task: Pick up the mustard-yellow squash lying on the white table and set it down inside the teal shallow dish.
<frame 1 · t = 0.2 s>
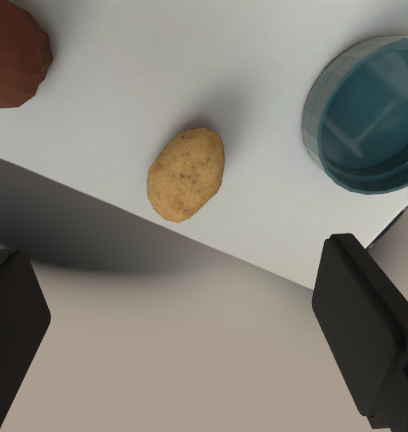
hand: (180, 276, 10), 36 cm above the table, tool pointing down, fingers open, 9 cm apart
muffin: (16, 47, 38), on the table
teal shallow dish: (368, 113, 44), on the table
potato: (187, 162, 47), on the table
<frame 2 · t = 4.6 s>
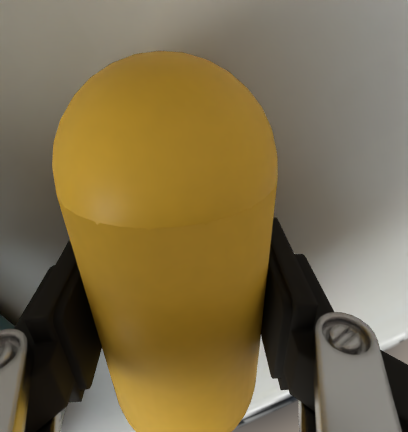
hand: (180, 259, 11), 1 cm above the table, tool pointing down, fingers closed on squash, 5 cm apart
squash: (173, 240, 11), on the table, tilted 6°, touching gripper
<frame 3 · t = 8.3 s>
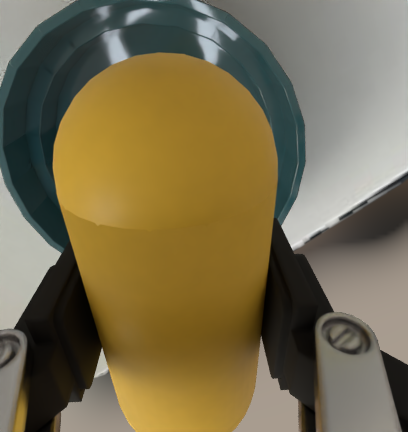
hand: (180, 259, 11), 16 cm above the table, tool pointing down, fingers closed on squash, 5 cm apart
teal shallow dish: (162, 142, 25), on the table
squash: (173, 241, 11), point 16 cm above the table, tilted 6°, touching gripper
when the fingers open (1 cm above the table, at t = 12.2 s): squash stays where it is, resting on teal shallow dish.
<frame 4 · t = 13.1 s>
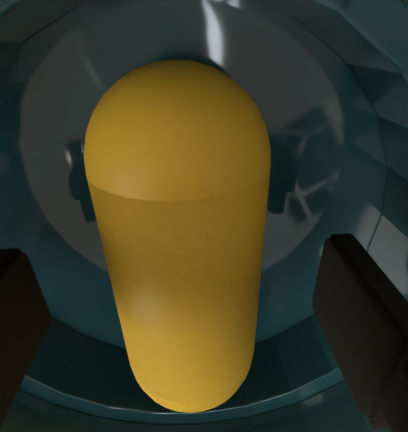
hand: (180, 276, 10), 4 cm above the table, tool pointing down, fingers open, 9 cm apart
teal shallow dish: (184, 223, 13), on the table
squash: (178, 227, 13), point 1 cm above the table, tilted 9°, touching teal shallow dish
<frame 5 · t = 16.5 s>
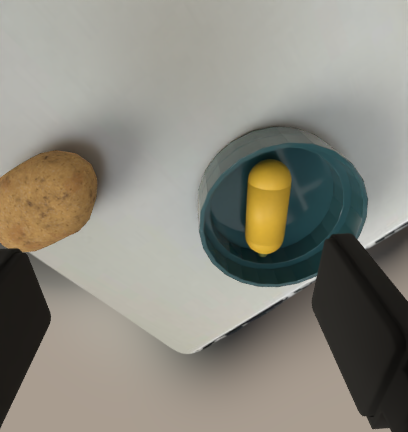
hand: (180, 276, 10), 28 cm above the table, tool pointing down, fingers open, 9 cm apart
teal shallow dish: (269, 198, 41), on the table
potato: (61, 183, 39), on the table
squash: (269, 199, 40), point 1 cm above the table, tilted 19°, touching teal shallow dish
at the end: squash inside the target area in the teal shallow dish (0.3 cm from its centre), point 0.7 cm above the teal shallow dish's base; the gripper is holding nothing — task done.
